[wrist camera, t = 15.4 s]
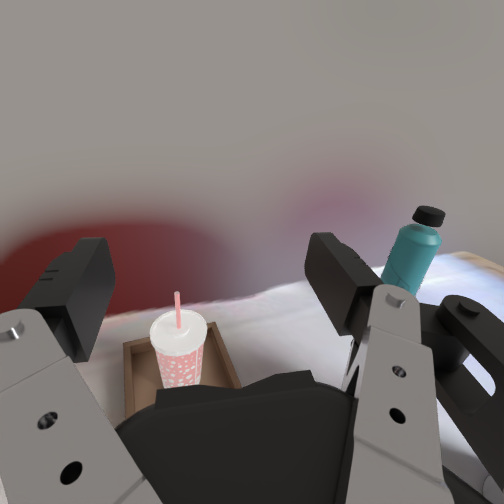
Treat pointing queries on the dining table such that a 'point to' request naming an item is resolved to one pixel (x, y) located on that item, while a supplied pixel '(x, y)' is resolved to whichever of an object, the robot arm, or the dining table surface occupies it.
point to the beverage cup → (179, 345)
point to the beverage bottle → (414, 250)
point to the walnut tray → (149, 377)
